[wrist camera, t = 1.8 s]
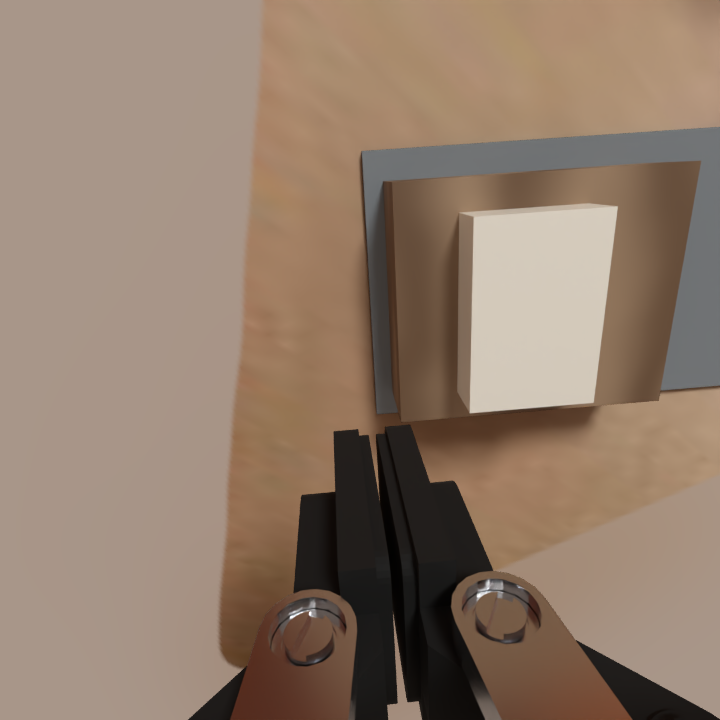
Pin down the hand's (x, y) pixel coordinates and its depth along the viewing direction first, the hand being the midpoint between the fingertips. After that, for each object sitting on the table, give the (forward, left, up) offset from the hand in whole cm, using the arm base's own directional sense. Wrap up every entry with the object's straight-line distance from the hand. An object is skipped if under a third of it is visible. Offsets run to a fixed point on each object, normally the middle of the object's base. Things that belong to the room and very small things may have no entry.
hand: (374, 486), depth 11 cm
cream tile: (-8, 0, -14) cm, 16 cm away
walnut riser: (-9, 0, -18) cm, 20 cm away
